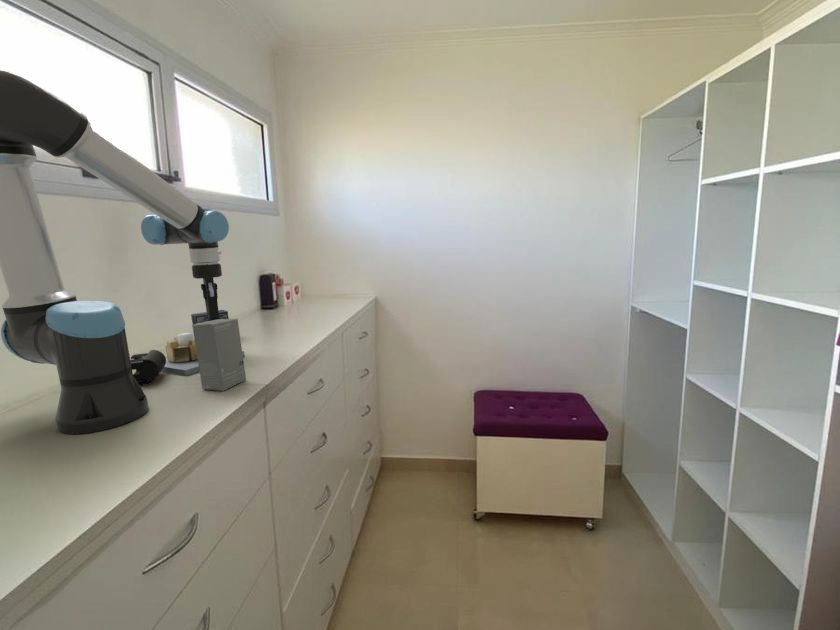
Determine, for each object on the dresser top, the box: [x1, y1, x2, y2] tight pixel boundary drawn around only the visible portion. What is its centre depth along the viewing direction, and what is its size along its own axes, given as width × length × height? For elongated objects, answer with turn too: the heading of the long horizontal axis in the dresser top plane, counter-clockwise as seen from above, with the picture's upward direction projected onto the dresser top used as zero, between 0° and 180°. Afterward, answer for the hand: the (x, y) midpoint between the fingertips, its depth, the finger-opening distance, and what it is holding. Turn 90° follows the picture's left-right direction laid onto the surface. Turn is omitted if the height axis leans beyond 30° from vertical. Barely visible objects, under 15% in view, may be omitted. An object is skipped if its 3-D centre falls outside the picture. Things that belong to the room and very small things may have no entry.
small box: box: [190, 309, 230, 325], centre depth 150 cm, size 11×6×10 cm, turn 130°
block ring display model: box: [160, 332, 245, 377], centre depth 126 cm, size 19×18×8 cm
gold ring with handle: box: [165, 336, 198, 362], centre depth 126 cm, size 16×10×5 cm, turn 101°
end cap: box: [130, 349, 166, 387], centre depth 112 cm, size 10×7×7 cm
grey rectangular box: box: [191, 318, 247, 392], centre depth 104 cm, size 8×7×16 cm
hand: (216, 343), depth 129 cm, fingers closed
